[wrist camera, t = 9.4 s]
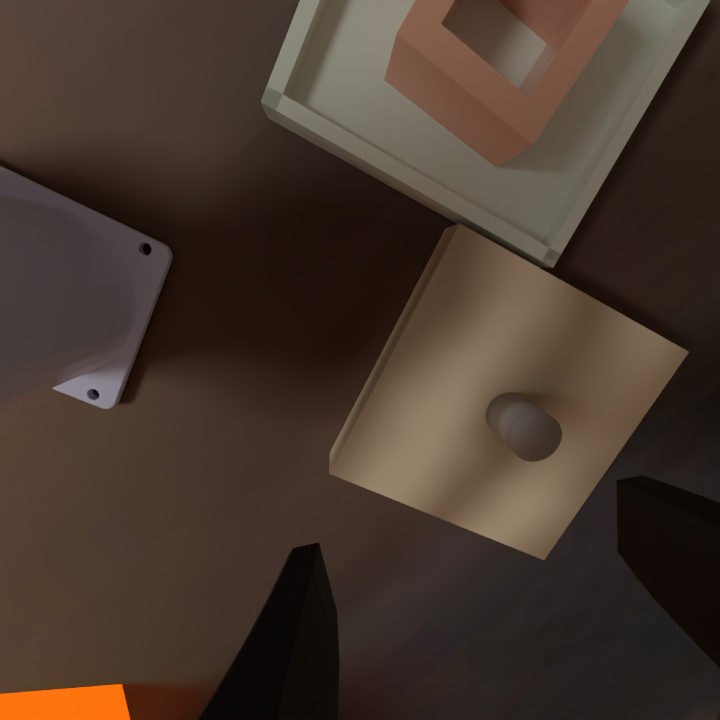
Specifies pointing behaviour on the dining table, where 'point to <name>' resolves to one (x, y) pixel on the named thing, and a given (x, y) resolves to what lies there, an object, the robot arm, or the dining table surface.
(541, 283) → the board
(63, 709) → the orange juice
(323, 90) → the tray
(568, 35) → the ring
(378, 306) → the dining table surface
